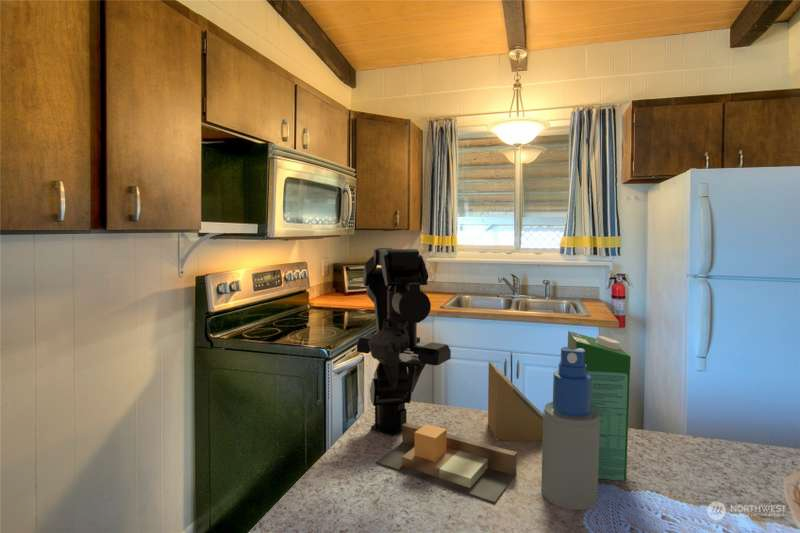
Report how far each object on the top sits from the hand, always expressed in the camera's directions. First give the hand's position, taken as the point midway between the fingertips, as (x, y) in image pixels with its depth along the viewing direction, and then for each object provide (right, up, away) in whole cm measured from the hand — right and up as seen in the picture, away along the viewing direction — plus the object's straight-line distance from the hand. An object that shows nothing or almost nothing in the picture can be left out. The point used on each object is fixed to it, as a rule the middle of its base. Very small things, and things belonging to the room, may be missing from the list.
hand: (402, 391), depth 88 cm
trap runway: (+8, -13, -4) cm, 16 cm away
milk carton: (+36, -14, -3) cm, 39 cm away
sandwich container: (+28, -13, +12) cm, 33 cm away
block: (+5, -11, -3) cm, 13 cm away
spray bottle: (+28, -14, -12) cm, 34 cm away
